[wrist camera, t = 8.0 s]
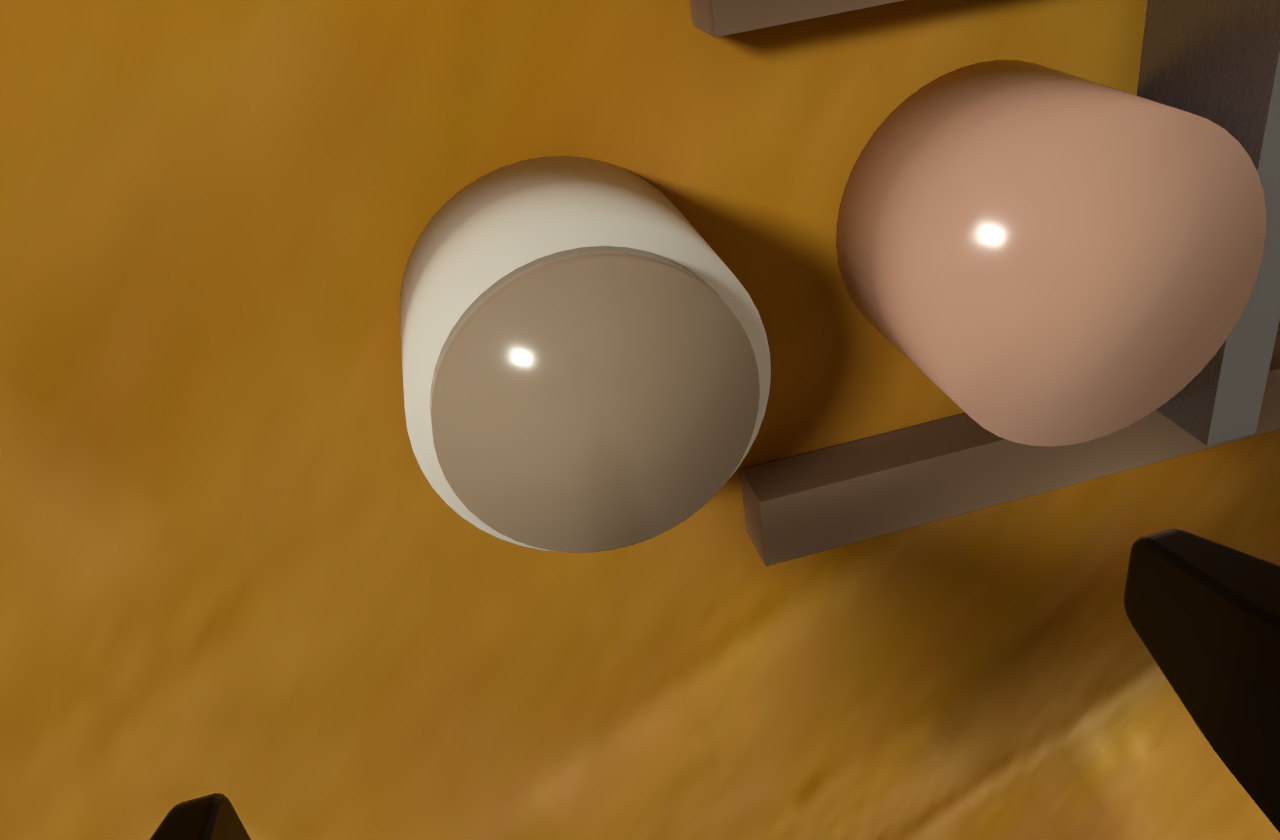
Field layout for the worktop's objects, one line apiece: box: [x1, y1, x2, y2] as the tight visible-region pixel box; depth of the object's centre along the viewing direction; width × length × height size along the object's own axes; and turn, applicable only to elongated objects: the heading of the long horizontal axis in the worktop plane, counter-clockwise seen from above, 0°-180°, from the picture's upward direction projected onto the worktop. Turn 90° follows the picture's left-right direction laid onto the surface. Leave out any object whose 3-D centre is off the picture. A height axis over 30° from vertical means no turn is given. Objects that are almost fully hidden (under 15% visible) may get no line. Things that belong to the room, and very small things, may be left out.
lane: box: [691, 0, 1280, 566], centre depth 18 cm, size 12×21×2 cm, turn 98°
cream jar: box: [400, 156, 771, 553], centre depth 16 cm, size 6×6×4 cm
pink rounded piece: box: [836, 60, 1266, 447], centre depth 17 cm, size 6×6×4 cm
